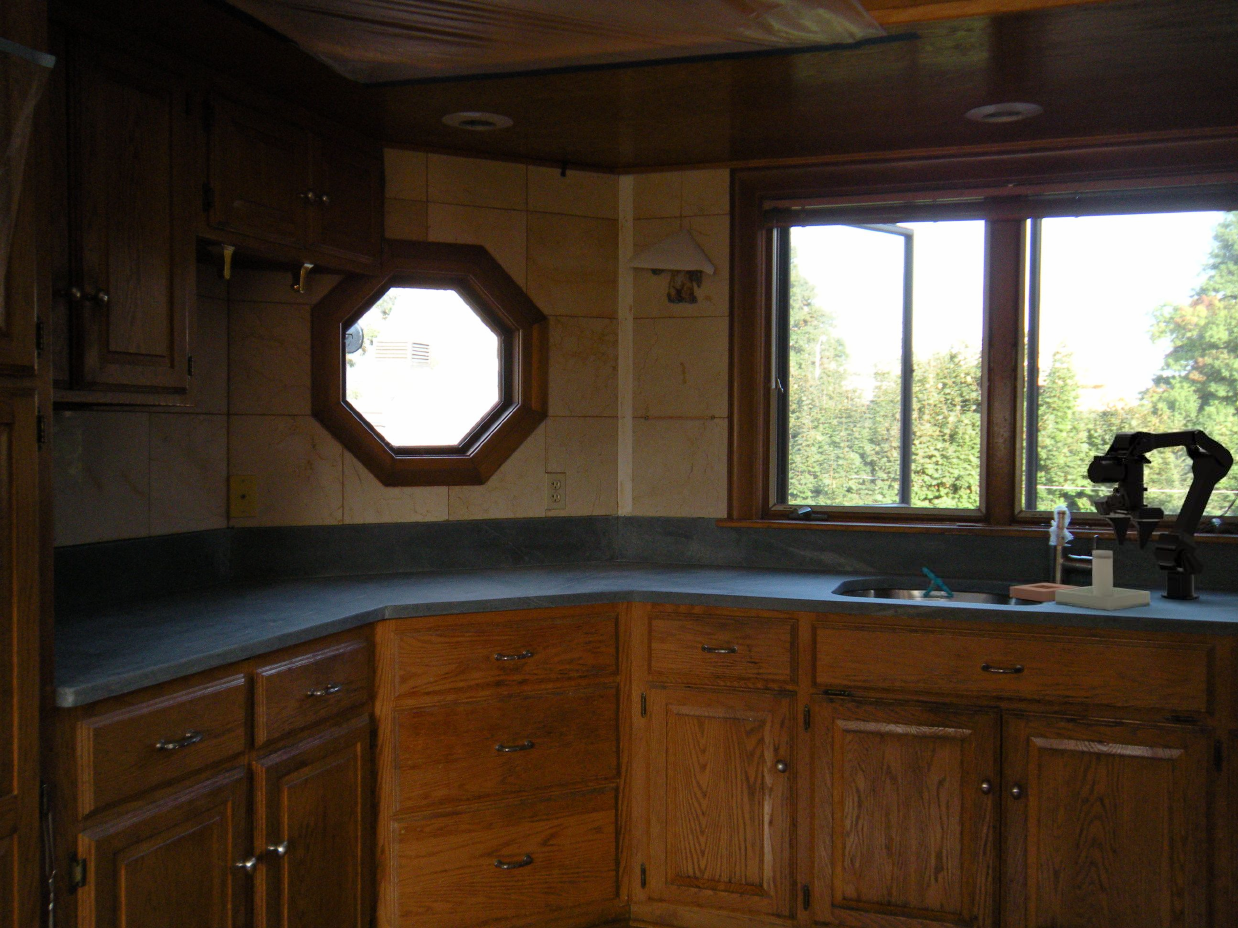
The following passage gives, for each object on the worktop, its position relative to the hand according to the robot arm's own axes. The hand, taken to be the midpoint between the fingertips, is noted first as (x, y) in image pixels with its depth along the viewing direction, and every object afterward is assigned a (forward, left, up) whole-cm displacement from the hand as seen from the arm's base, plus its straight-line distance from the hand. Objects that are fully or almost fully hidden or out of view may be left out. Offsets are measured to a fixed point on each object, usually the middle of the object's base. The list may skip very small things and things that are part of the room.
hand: (1130, 547), depth 252 cm
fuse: (+10, -1, -12) cm, 16 cm away
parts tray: (+10, -1, -13) cm, 16 cm away
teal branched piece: (+32, -32, -13) cm, 47 cm away
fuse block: (+11, -16, -13) cm, 23 cm away
